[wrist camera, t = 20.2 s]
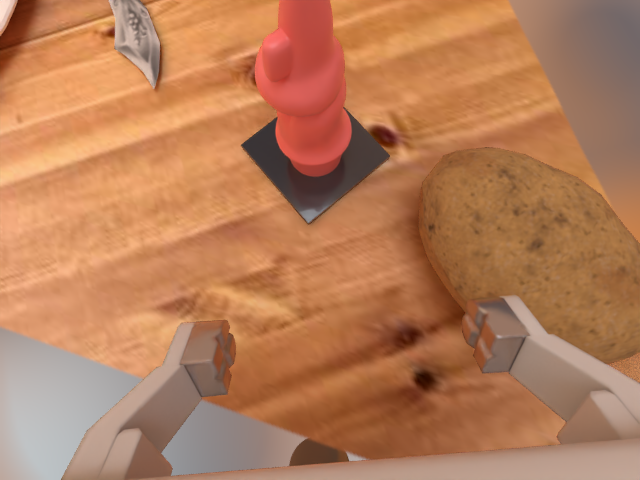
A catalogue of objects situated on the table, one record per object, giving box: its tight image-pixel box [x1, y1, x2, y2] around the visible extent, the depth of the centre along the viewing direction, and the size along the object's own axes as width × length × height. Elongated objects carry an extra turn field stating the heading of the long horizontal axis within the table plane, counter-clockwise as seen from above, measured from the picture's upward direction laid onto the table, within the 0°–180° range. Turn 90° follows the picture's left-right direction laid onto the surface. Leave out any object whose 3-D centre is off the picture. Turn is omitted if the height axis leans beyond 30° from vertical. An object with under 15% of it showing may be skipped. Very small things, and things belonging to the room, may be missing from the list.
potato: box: [418, 147, 640, 364], centre depth 19 cm, size 10×14×8 cm
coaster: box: [241, 107, 390, 224], centre depth 24 cm, size 8×8×1 cm
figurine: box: [255, 0, 352, 177], centre depth 16 cm, size 5×5×15 cm
